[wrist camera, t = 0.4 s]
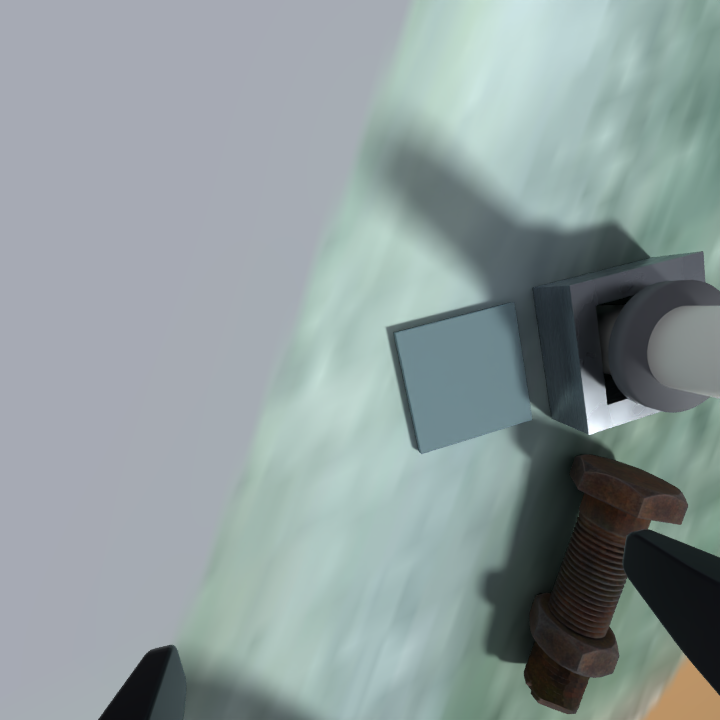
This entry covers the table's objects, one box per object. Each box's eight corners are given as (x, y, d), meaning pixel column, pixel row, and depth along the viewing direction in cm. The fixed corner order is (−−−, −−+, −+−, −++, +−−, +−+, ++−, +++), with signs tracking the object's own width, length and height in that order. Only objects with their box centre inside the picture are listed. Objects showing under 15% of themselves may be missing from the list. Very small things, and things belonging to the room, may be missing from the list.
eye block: (662, 383, 25) (712, 394, 22) (551, 418, 24) (588, 434, 21) (651, 257, 24) (703, 251, 21) (532, 287, 22) (569, 285, 20)
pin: (650, 375, 25) (1029, 449, 12) (561, 402, 24) (873, 514, 11) (640, 273, 24) (1048, 240, 11) (546, 298, 23) (876, 292, 10)
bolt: (505, 641, 28) (571, 444, 26) (581, 677, 27) (658, 471, 25) (508, 714, 23) (593, 472, 21) (605, 764, 21) (705, 509, 19)
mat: (528, 417, 24) (532, 419, 23) (419, 451, 23) (421, 454, 22) (510, 302, 22) (514, 302, 22) (393, 332, 21) (395, 333, 21)
